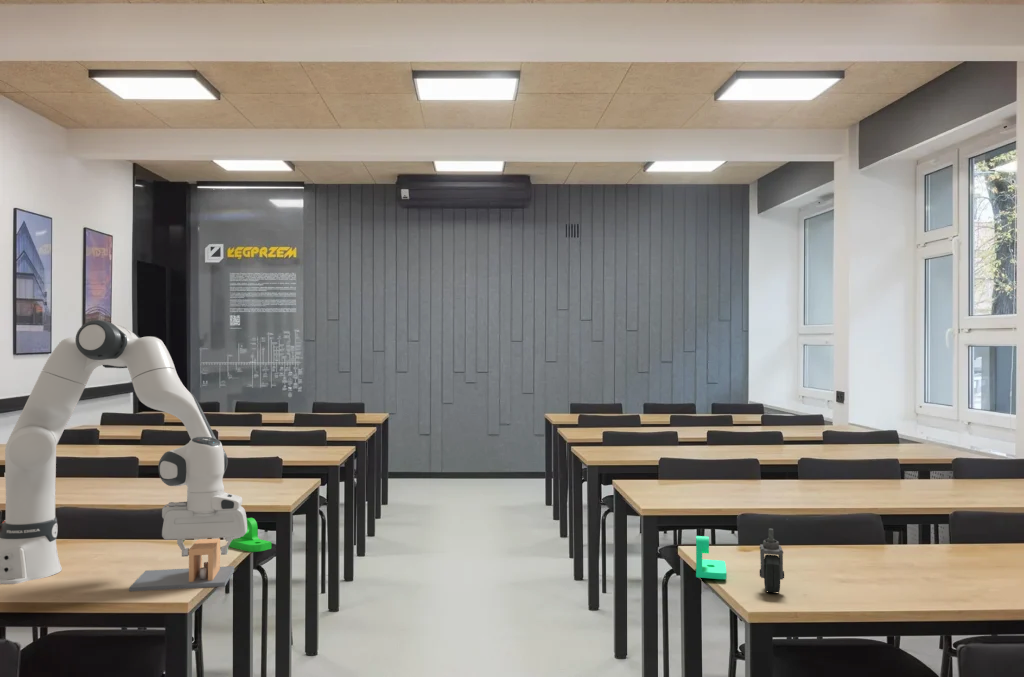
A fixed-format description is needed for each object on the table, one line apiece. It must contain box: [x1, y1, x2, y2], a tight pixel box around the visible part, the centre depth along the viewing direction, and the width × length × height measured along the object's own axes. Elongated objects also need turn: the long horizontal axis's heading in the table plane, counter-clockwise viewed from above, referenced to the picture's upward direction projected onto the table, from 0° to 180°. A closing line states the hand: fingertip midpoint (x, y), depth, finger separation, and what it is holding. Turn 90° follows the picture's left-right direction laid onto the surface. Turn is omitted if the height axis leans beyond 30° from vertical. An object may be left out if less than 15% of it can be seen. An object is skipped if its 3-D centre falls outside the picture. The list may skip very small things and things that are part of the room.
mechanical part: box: [228, 517, 272, 553], centre depth 225 cm, size 12×6×8 cm, turn 56°
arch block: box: [188, 538, 221, 582], centre depth 192 cm, size 6×10×8 cm, turn 11°
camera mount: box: [695, 535, 728, 580], centre depth 199 cm, size 12×8×10 cm, turn 166°
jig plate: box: [128, 561, 235, 592], centre depth 191 cm, size 22×14×4 cm, turn 101°
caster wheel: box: [759, 528, 785, 593], centre depth 185 cm, size 6×10×15 cm, turn 165°
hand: (205, 555), depth 192 cm, fingers open, 8 cm apart
